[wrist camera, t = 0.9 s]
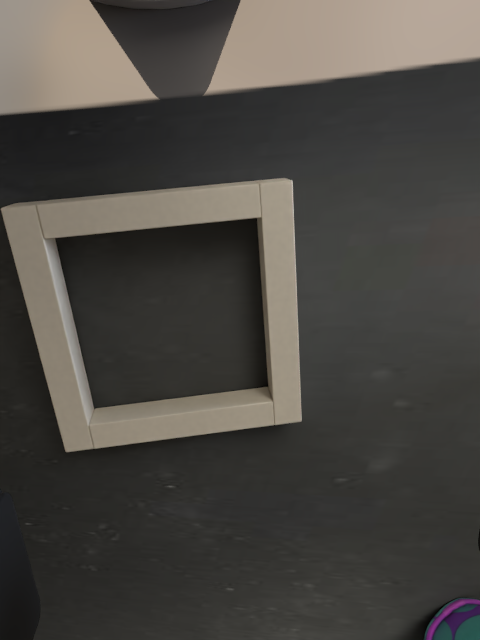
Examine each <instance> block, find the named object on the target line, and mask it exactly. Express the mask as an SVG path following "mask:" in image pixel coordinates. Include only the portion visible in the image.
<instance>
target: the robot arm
mask: <svg viewBox="0 0 480 640" xmlns="http://www.w3.org/2000/svg"><path fill="white" fill-rule="evenodd" d="M478 545H479V550H480V531H479V538H478ZM39 617H40V598H39V595H38V591H37V588H36V584H35V580H34V577H33V573H32V569H31V566H30V562H29V558H28V555H27V551H26V547H25V544H24V540H23V536H22V533H21V529H20V525H19V522H18V518H17V514H16V511H15V507H14V503H13V500H12V497H11V495H10V494H9V493H2V491H1V489H0V640H33V637H34V634H35V631H36V628H37V625H38V622H39Z"/></svg>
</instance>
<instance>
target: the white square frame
mask: <svg viewBox="0 0 480 640" xmlns="http://www.w3.org/2000/svg"><path fill="white" fill-rule="evenodd" d="M1 212H2V216H3V220H4V223H5V227H6V231H7V235H8V238H9V242H10V246H11V250H12V253H13V257H14V261H15V265H16V268H17V272H18V276H19V280H20V283H21V287H22V291H23V294H24V298H25V302H26V306H27V309H28V313H29V317H30V321H31V324H32V328H33V332H34V336H35V339H36V343H37V347H38V351H39V354H40V358H41V362H42V366H43V369H44V373H45V377H46V381H47V384H48V388H49V392H50V396H51V399H52V403H53V407H54V411H55V414H56V418H57V422H58V426H59V429H60V433H61V437H62V441H63V444H64V448H65V452H73V451H80V450H88V449H93V448H95V449H96V448H104V447H112V446H119V445H127V444H134V443H142V442H150V441H157V440H165V439H172V438H180V437H187V436H195V435H203V434H210V433H218V432H225V431H233V430H241V429H248V428H256V427H263V426H271V425H274V424H275V425H279V424H287V423H294V422H301V421H302V417H301V391H300V365H299V339H298V313H297V287H296V261H295V235H294V208H293V182H292V180H289V179H286V178H279V179H268V180H257V181H255V182H254V181H247V182H236V183H226V184H215V185H204V186H194V187H183V188H173V189H162V190H151V191H141V192H130V193H119V194H109V195H98V196H87V197H77V198H66V199H56V200H47V201H35V202H24V203H14V204H11V205H8V206H5V207H3V208H1ZM251 218H257V227H258V242H259V257H260V271H261V286H262V301H263V316H264V331H265V346H266V361H267V375H268V387H262V388H254V389H246V390H238V391H230V392H222V393H214V394H206V395H198V396H190V397H182V398H174V399H167V400H159V401H151V402H143V403H135V404H127V405H119V406H111V407H103V408H95V410H94V406H93V401H92V397H91V393H90V388H89V384H88V380H87V375H86V371H85V367H84V362H83V358H82V354H81V349H80V345H79V341H78V336H77V332H76V327H75V323H74V319H73V314H72V310H71V306H70V301H69V297H68V293H67V288H66V284H65V280H64V275H63V271H62V267H61V262H60V258H59V253H58V249H57V245H56V240H55V238H61V237H71V236H81V235H91V234H101V233H111V232H121V231H131V230H141V229H151V228H161V227H171V226H181V225H191V224H201V223H211V222H221V221H231V220H241V219H251Z"/></svg>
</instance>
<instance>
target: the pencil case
mask: <svg viewBox="0 0 480 640" xmlns="http://www.w3.org/2000/svg"><path fill="white" fill-rule="evenodd" d="M424 640H480V600H478V599H473V598H457V599H455V600H453V601H451V602H449V603H448V604H446V605H445V606H444V607H443V608H441V609H440V610H439V612H438V613H437V614H436V615H435V616H434V617H433V619H432V620H431V621H430V623H429V625H428V626H427V629H426V632H425V636H424Z"/></svg>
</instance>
